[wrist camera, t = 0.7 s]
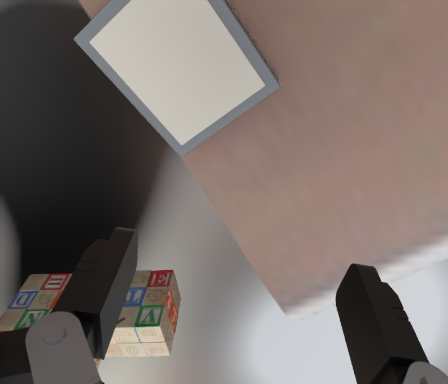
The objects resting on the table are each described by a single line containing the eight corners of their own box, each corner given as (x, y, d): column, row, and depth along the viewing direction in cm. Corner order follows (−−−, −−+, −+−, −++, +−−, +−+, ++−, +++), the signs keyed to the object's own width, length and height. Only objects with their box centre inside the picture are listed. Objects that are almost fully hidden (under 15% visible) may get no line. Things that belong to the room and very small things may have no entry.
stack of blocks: (174, 267, 46) (155, 351, 36) (181, 297, 50) (166, 381, 40) (29, 274, 48) (-28, 355, 38) (46, 302, 52) (-2, 384, 41)
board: (181, -66, 26) (177, -69, 24) (278, 81, 32) (280, 87, 30) (82, 35, 30) (72, 39, 28) (183, 148, 36) (180, 158, 34)
